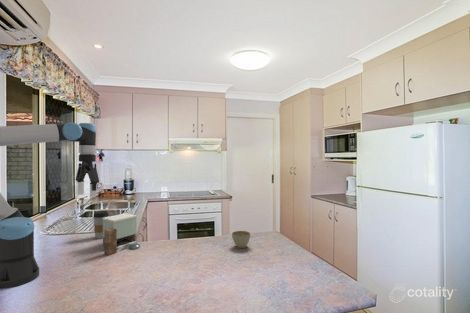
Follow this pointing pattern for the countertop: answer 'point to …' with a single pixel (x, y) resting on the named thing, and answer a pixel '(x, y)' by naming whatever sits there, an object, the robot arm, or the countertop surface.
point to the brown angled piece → (113, 242)
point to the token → (134, 246)
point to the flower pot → (241, 238)
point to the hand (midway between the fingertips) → (86, 195)
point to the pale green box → (121, 226)
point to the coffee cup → (99, 223)
